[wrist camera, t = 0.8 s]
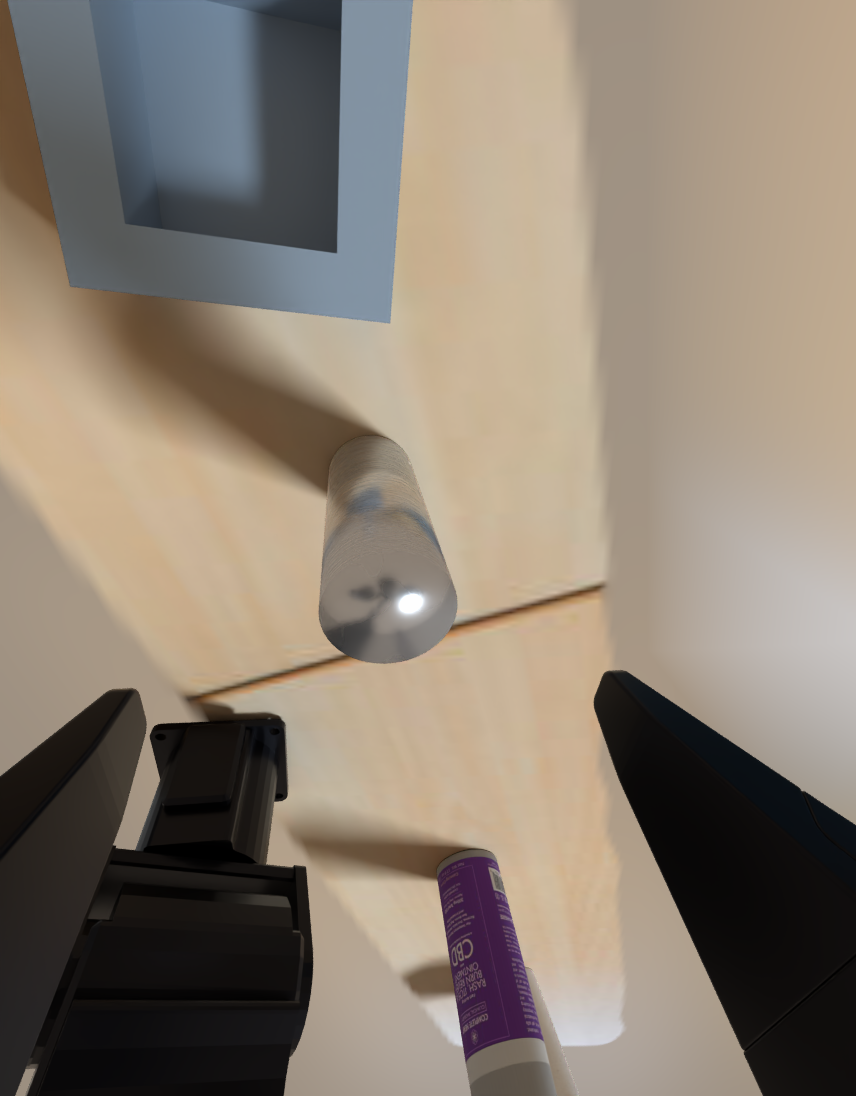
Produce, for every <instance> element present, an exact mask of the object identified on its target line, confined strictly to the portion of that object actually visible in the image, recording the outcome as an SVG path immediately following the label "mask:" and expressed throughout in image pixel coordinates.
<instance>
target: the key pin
mask: <svg viewBox="0 0 856 1096" xmlns="http://www.w3.org/2000/svg"><path fill="white" fill-rule="evenodd" d="M456 613H457V595H456V591H455V588H454V585H453V582H452V579H451V576H450V573H449V571H448V568H447V565H446V562H445V559H444V556H443V554H442V551H441V548H440V545H439V542H438V539H437V536H436V534H435V531H434V528H433V525H432V522H431V519H430V516H429V514H428V511H427V508H426V505H425V502H424V499H423V496H422V494H421V491H420V488H419V485H418V482H417V479H416V476H415V474H414V471H413V468H412V465H411V462H410V460H409V458H408V456H407V454H406V453H405V451H404V450H403V449H402V448H401V447H400V446H399V445H398V444H396V443H395V442H393V441H391V440H389V439H387V438H384V437H381V436H374V435H367V436H361V437H357V438H354V439H352V440H350V441H348V442H347V443H345V444H344V445H343V446H341V447H340V448H339V449H338V451H337V452H336V453H335V455H334V457H333V458H332V461H331V463H330V467H329V477H328V490H327V504H326V518H325V532H324V546H323V559H322V573H321V587H320V601H319V620H320V624H321V627H322V630H323V632H324V634H325V635H326V637H327V638H328V640H329V641H330V642H331V643H332V644H333V645H334V646H335V647H336V648H337V649H338V650H340V651H341V652H343V653H344V654H346V655H348V656H350V657H352V658H355V659H358V660H361V661H365V662H370V663H384V664H385V663H396V662H402V661H405V660H409V659H412V658H414V657H417V656H419V655H421V654H423V653H425V652H427V651H428V650H430V649H431V648H433V647H434V646H435V645H437V644H438V643H439V642H440V641H441V640H442V639H443V638H444V637H445V635H446V634H447V633H448V631H449V630H450V628H451V626H452V624H453V622H454V620H455V616H456Z"/></svg>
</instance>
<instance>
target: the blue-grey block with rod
mask: <svg viewBox="0 0 856 1096" xmlns="http://www.w3.org/2000/svg"><path fill="white" fill-rule="evenodd" d="M7 1H8V5H9V10H10V14H11V19H12V23H13V28H14V33H15V37H16V42H17V46H18V51H19V55H20V60H21V64H22V69H23V74H24V78H25V83H26V87H27V92H28V96H29V101H30V105H31V110H32V115H33V119H34V124H35V128H36V133H37V137H38V142H39V146H40V151H41V155H42V160H43V165H44V169H45V174H46V178H47V183H48V187H49V192H50V196H51V201H52V206H53V210H54V215H55V219H56V224H57V228H58V233H59V237H60V242H61V247H62V251H63V256H64V260H65V265H66V269H67V274H68V278H69V283H70V287H78V288H87V289H95V290H104V291H113V292H122V293H130V294H139V295H148V296H156V297H165V298H174V299H182V300H191V301H200V302H209V303H217V304H226V305H235V306H243V307H252V308H261V309H269V310H278V311H287V312H295V313H304V314H313V315H322V316H330V317H339V318H348V319H356V320H365V321H374V322H382V323H390V318H391V304H392V290H393V276H394V262H395V247H396V233H397V219H398V205H399V191H400V176H401V162H402V148H403V134H404V120H405V105H406V91H407V77H408V63H409V49H410V34H411V20H412V6H413V0H7Z"/></svg>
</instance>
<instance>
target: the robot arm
mask: <svg viewBox="0 0 856 1096" xmlns="http://www.w3.org/2000/svg"><path fill="white" fill-rule="evenodd" d="M594 709H595V712H596V715H597V718H598V721H599V724H600V727H601V730H602V733H603V736H604V739H605V741H606V744H607V747H608V750H609V753H610V756H611V759H612V762H613V765H614V767H615V770H616V772H617V775H618V778H619V781H620V783H621V785H622V787H623V790H624V792H625V794H626V797H627V799H628V801H629V803H630V805H631V807H632V809H633V812H634V814H635V816H636V818H637V821H638V823H639V825H640V827H641V829H642V832H643V834H644V836H645V838H646V840H647V842H648V845H649V847H650V849H651V851H652V853H653V856H654V858H655V860H656V862H657V864H658V866H659V868H660V871H661V873H662V875H663V877H664V880H665V882H666V883H667V886H668V888H669V891H670V893H671V895H672V897H673V899H674V901H675V903H676V906H677V908H678V910H679V912H680V915H681V917H682V919H683V921H684V923H685V926H686V928H687V930H688V932H689V934H690V936H691V938H692V941H693V943H694V945H695V947H696V949H697V952H698V954H699V956H700V958H701V961H702V963H703V965H704V967H705V969H706V971H707V974H708V976H709V978H710V980H711V982H712V985H713V987H714V989H715V991H716V993H717V996H718V998H719V1000H720V1002H721V1004H722V1006H723V1008H724V1011H725V1013H726V1015H727V1017H728V1019H729V1022H730V1024H731V1026H732V1028H733V1031H734V1033H735V1035H736V1037H737V1039H738V1041H739V1044H740V1046H741V1048H742V1049H743V1050H745V1051H744V1055H745V1058H746V1060H747V1062H748V1064H749V1066H750V1069H751V1071H752V1072H753V1075H754V1077H755V1079H756V1082H757V1084H758V1086H759V1088H760V1090H761V1093H762V1095H763V1096H856V825H855V824H853V823H852V822H850V821H849V820H847V819H846V818H844V817H843V816H841V815H840V814H838V813H837V812H835V811H833V810H832V809H830V808H829V807H827V806H826V805H824V804H823V803H821V802H820V801H818V800H817V799H816V798H814V797H813V796H811V795H810V794H808V793H806V792H805V791H801V789H800V788H799V787H798V786H796V785H795V784H793V783H792V782H790V781H789V780H787V779H786V778H784V777H783V776H781V775H780V774H778V773H777V772H775V771H774V770H772V769H771V768H769V767H768V766H766V765H765V764H763V763H762V762H760V761H759V760H757V759H756V758H754V757H753V756H752V755H750V754H749V753H747V752H745V751H744V750H743V749H741V748H740V747H738V746H737V745H735V744H734V743H732V742H731V741H729V740H728V739H726V738H725V737H723V736H722V735H720V734H718V733H717V732H716V731H714V730H713V729H711V728H710V727H708V726H707V725H705V724H704V723H702V722H701V721H700V720H698V719H697V718H695V717H694V716H692V715H691V714H689V713H688V712H686V711H685V710H683V709H682V708H680V707H679V706H677V705H676V704H674V703H673V702H671V701H670V700H668V699H667V698H665V697H664V696H662V695H661V694H659V693H658V692H656V691H655V690H654V689H652V688H651V687H649V686H648V685H646V684H645V683H643V682H641V681H640V680H639V679H637V678H636V677H634V676H633V675H631V674H630V673H628V672H626V671H623V670H615V671H606V672H605V673H604V674H603V676H602V679H601V681H600V684H599V687H598V689H597V692H596V694H595V697H594ZM274 728H276V729H274ZM145 734H146V717H145V714H144V710H143V706H142V702H141V698H140V695H139V692H138V691H137V690H136V689H133V688H129V689H112V690H109V691H108V692H106V693H105V694H103V695H102V696H101V697H100V698H99V699H97V700H96V701H95V702H93V703H92V704H91V705H90V706H89V707H87V708H86V709H84V711H82V712H81V713H79V714H78V715H77V716H76V717H74V718H73V719H72V720H71V721H69V722H68V723H67V724H66V725H64V726H63V727H62V728H61V729H59V730H58V731H57V732H56V733H54V734H53V735H52V736H50V737H49V738H48V739H47V740H45V741H44V742H43V743H42V744H40V745H39V746H38V747H37V748H35V749H34V750H33V751H32V752H30V753H29V754H28V755H27V756H25V757H24V758H23V759H21V760H20V761H19V762H18V763H16V764H15V765H14V766H13V767H11V768H10V769H9V770H8V771H6V772H5V773H4V774H3V775H1V776H0V1096H15V1095H16V1092H17V1090H18V1087H19V1084H20V1082H21V1079H22V1077H23V1074H24V1072H25V1069H32V1068H36V1069H35V1071H34V1074H33V1077H32V1079H31V1082H30V1084H29V1087H28V1090H27V1092H26V1095H25V1096H284V1089H285V1081H286V1074H287V1068H288V1063H289V1057H291V1055H292V1054H293V1052H294V1051H295V1050H296V1048H297V1045H298V1043H299V1041H300V1038H301V1035H302V1031H303V1028H304V1025H305V1021H306V1016H307V1012H308V1007H309V1001H310V995H311V987H312V977H313V947H312V934H311V923H310V910H309V898H308V886H307V873H306V867H305V866H297V865H294V866H293V867H285V866H274V865H266V861H267V854H268V846H269V838H270V831H271V823H272V815H273V808H274V802H277V801H283V800H285V799H286V798H287V796H288V772H287V748H286V725H285V723H284V722H283V721H282V720H280V719H263V720H239V721H215V722H191V723H167V724H158V725H156V726H154V728H153V729H152V732H151V734H150V740H151V744H152V748H153V752H154V756H155V760H156V764H157V768H158V772H159V776H160V782H159V785H158V788H157V791H156V794H155V796H154V799H153V802H152V805H151V808H150V811H149V813H148V816H147V819H146V822H145V825H144V827H143V830H142V833H141V835H140V838H139V841H138V844H137V847H136V849H135V850H126V849H118V848H116V846H114V845H113V843H114V841H115V838H116V835H117V833H118V830H119V827H120V824H121V822H122V818H123V815H124V811H125V808H126V805H127V801H128V797H129V793H130V790H131V786H132V782H133V778H134V775H135V771H136V767H137V764H138V760H139V756H140V752H141V749H142V745H143V741H144V737H145Z"/></svg>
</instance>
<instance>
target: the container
mask: <svg viewBox="0 0 856 1096" xmlns="http://www.w3.org/2000/svg"><path fill="white" fill-rule="evenodd" d="M437 879H438V886H439V892H440V899H441V905H442V912H443V918H444V925H445V931H446V938H447V944H448V951H449V957H450V964H451V970H452V977H453V983H454V990H455V996H456V1003H457V1009H458V1016H459V1022H460V1029H461V1035H462V1042H463V1048H464V1054H465V1061H466V1067H467V1073H468V1078H469V1084H470V1089H471V1096H557V1093H556V1089H555V1085H554V1081H553V1077H552V1072H551V1068H550V1064H549V1060H548V1056H547V1052H546V1047H545V1043H544V1039H543V1035H542V1031H541V1027H540V1024H539V1020H538V1016H537V1012H536V1008H535V1004H534V1001H533V997H532V993H531V989H530V985H529V982H528V978H527V974H526V970H525V966H524V962H523V959H522V955H521V951H520V947H519V943H518V939H517V936H516V932H515V928H514V924H513V920H512V917H511V913H510V909H509V905H508V901H507V897H506V894H505V890H504V886H503V882H502V878H501V875H500V871H499V867H498V863H497V860H496V857H495V856H494V855H493V854H492V853H491V852H489V851H485V850H479V849H474V850H466V851H462V852H459V853H456V854H454V855H451V856H450V857H448V858H446V859H445V860H444V861H443V862H442V863H441V864H440V865H439V866H438V868H437Z"/></svg>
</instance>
